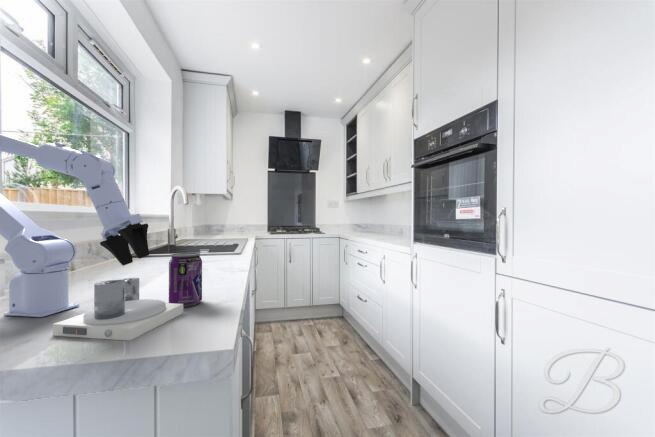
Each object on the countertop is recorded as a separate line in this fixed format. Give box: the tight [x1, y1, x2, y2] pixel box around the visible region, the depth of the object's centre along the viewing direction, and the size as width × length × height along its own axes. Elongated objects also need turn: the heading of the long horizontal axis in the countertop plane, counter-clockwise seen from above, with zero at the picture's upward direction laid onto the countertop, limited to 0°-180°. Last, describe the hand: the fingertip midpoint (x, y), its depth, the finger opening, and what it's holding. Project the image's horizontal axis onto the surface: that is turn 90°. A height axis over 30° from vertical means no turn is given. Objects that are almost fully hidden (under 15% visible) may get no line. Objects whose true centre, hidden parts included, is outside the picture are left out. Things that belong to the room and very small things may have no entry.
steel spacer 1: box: [93, 279, 125, 320], centre depth 52 cm, size 4×4×6 cm
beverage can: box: [168, 251, 203, 308], centre depth 68 cm, size 7×7×12 cm
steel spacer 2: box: [118, 277, 140, 301], centre depth 67 cm, size 4×4×6 cm
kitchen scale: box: [52, 298, 184, 341], centre depth 55 cm, size 15×14×3 cm
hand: (135, 260), depth 66 cm, fingers open, 7 cm apart
